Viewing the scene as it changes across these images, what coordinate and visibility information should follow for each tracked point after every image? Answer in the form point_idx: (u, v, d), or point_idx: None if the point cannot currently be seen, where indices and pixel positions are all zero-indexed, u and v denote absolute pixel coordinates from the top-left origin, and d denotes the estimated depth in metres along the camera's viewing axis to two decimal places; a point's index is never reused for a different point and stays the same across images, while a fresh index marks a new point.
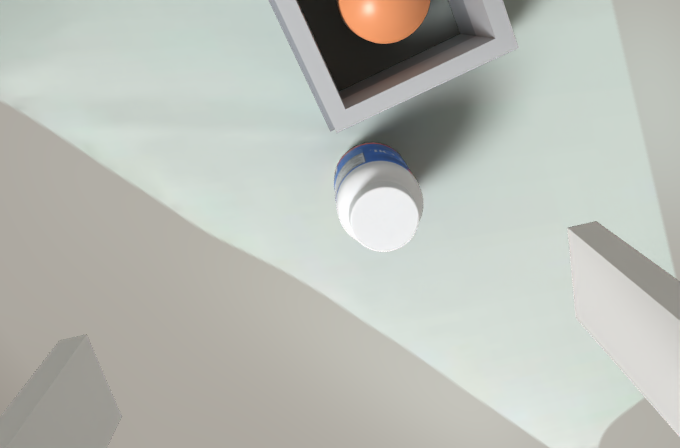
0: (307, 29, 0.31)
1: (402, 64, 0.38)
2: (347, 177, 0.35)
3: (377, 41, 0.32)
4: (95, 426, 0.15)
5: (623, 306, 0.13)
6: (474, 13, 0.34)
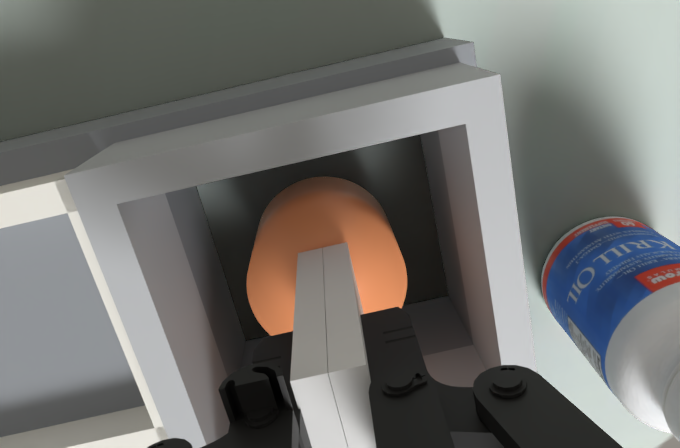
0: None
1: (438, 208, 0.22)
2: (620, 401, 0.19)
3: None
4: None
5: None
6: None
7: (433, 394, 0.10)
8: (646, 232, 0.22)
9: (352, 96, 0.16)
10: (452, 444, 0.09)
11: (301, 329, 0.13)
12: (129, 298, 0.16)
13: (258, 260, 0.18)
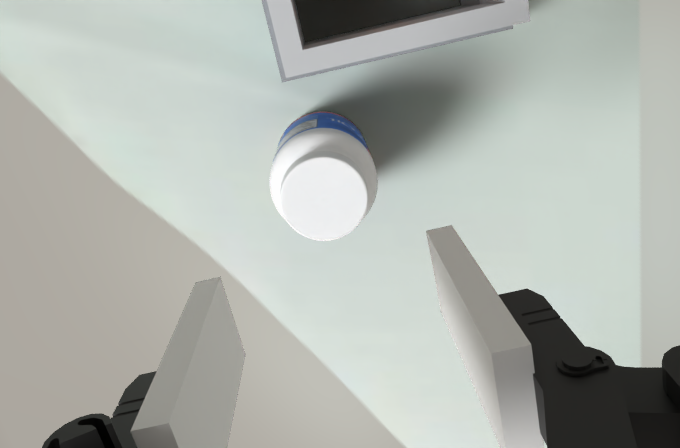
0: None
1: (385, 24, 0.31)
2: (290, 140, 0.28)
3: None
4: (233, 357, 0.16)
5: (452, 299, 0.14)
6: None
7: (615, 381, 0.10)
8: None
9: None
10: (632, 436, 0.08)
11: (164, 370, 0.13)
12: None
13: None
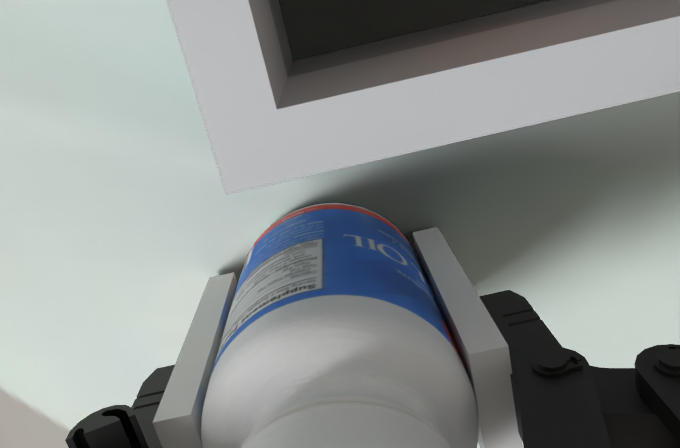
0: None
1: (476, 22, 0.14)
2: (253, 333, 0.11)
3: None
4: None
5: None
6: None
7: (589, 380, 0.10)
8: None
9: None
10: (606, 435, 0.08)
11: (183, 363, 0.13)
12: None
13: None
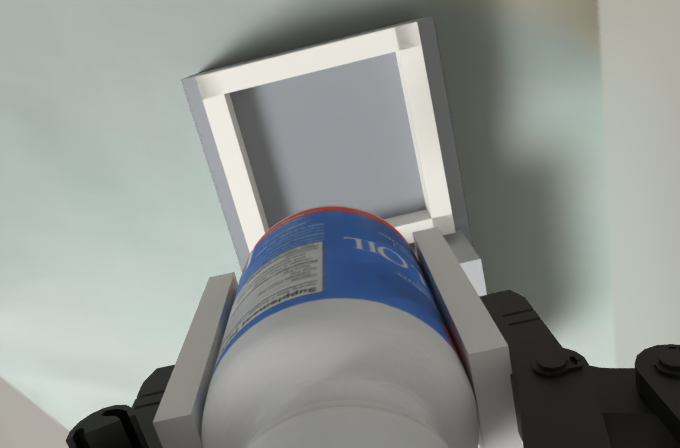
0: None
1: None
2: (253, 336, 0.11)
3: None
4: None
5: (435, 300, 0.15)
6: None
7: (588, 380, 0.10)
8: None
9: None
10: (606, 435, 0.08)
11: (183, 363, 0.13)
12: None
13: None
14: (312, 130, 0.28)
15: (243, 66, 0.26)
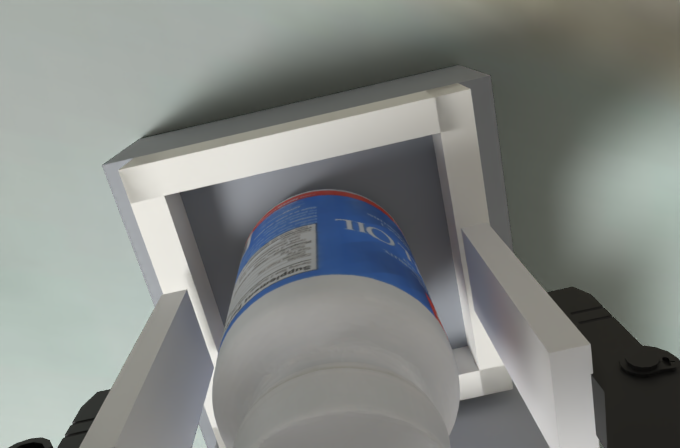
0: None
1: None
2: (256, 311, 0.12)
3: None
4: (198, 371, 0.16)
5: (493, 297, 0.14)
6: None
7: None
8: None
9: None
10: None
11: (118, 389, 0.12)
12: None
13: None
14: None
15: (194, 154, 0.16)
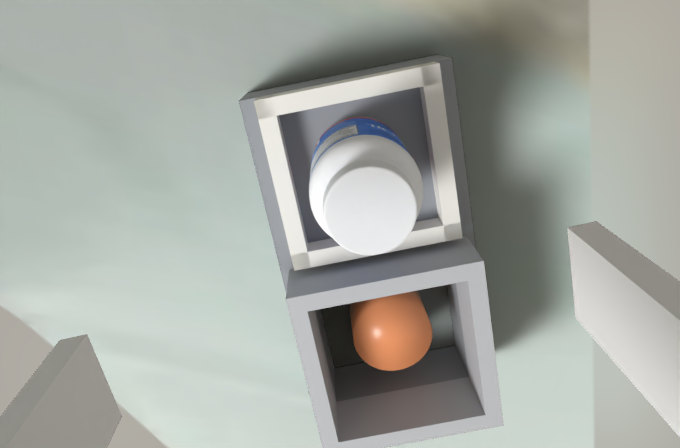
0: (321, 377, 0.34)
1: None
2: (331, 148, 0.27)
3: (377, 367, 0.37)
4: (95, 426, 0.15)
5: (623, 305, 0.13)
6: (472, 370, 0.37)
7: None
8: None
9: None
10: None
11: None
12: (420, 280, 0.32)
13: (409, 306, 0.36)
14: None
15: (294, 93, 0.31)
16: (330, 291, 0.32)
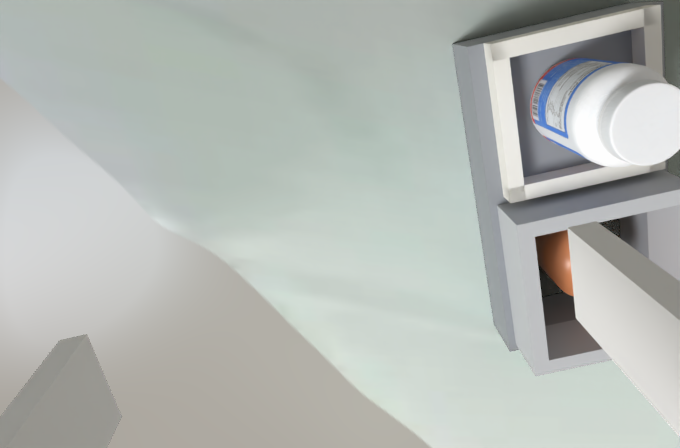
0: (540, 298, 0.37)
1: None
2: (594, 76, 0.30)
3: (572, 294, 0.41)
4: (95, 426, 0.15)
5: (623, 305, 0.13)
6: None
7: None
8: None
9: None
10: None
11: None
12: (638, 205, 0.35)
13: None
14: None
15: (527, 36, 0.34)
16: (557, 217, 0.35)
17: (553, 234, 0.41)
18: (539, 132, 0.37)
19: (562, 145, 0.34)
